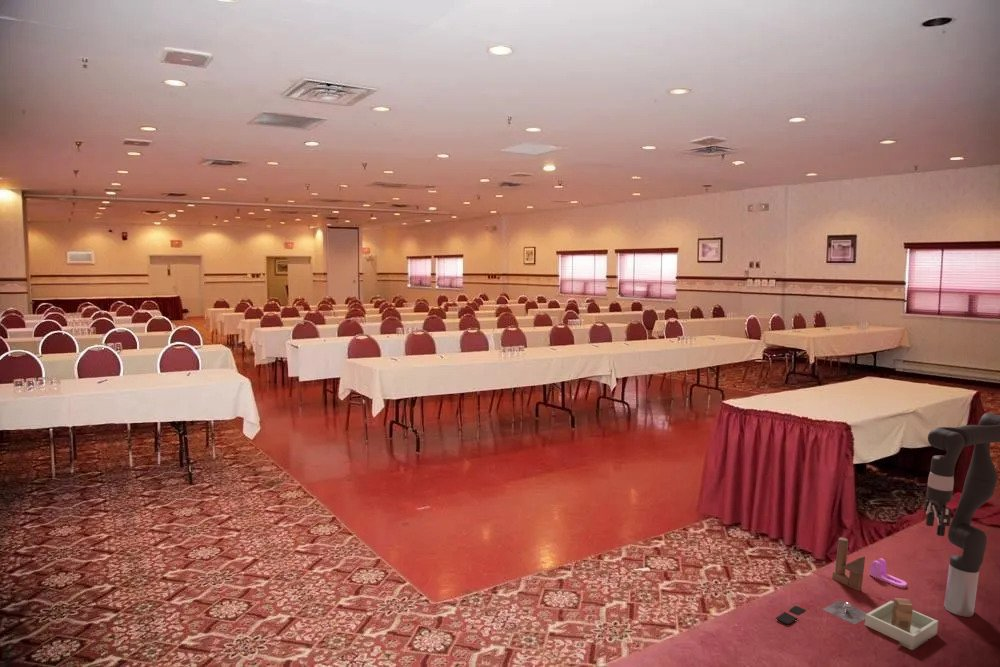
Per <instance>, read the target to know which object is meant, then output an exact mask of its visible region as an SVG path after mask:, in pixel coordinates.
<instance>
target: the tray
mask: <svg viewBox="0 0 1000 667" xmlns="http://www.w3.org/2000/svg"><path fill="white" fill-rule="evenodd" d="M893 605H894V600H889V601H888V602H886V603H883V604H882V605H881V606H878V607H876V608H875V609H872V610H871V611H869V612H866V613H867V614H866V617H865V619H864V626H866V627H867V628H870V629H872V630H875V631H877V632H879V633H881V634H882V635H885V636H887V637H890V638H891V639H894V640H896V641H897V642H898V643H897V644H898V645H901V646H902V647H904V648H907V649H909V650H911V651H914V650H915V649H916V648H918V647H920V646H921V645H922V644H924V643H926V642H928V641H929V640H930V639H932V638H933V637H935V636H937V634H938V627H939V620H938V619H935V618H932V617H931V616H928V615H926V614H923V613H921V612H918V611H916V610H914V609H913V610H912V618H911V626H910V632H906V631H904V630H902V629H900V628H898V627H896V626H893V625H892V624H891V622H892V613H893ZM928 639H929V640H928Z"/></svg>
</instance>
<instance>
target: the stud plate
mask: <svg viewBox="0 0 1000 667" xmlns="http://www.w3.org/2000/svg"><path fill="white" fill-rule="evenodd" d="M822 610H823V611H825V612H827V613H830V614H832V615H833V616H836V617H837V618H839V619H842V620H843V621H845V622H848V623H850V624H851V625H857V624H859V623H860V622H862V621H865V617H866V614H867V613H868V612H866V611H865V610H862V609H859V608H858V607H855V606H853V605H852V604H851V603H850V602H847V601H846V602H845V601H842V600H838V601H836V602H834V603H832V604H830V605H828V606H826V607H824V608H822Z"/></svg>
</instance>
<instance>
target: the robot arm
mask: <svg viewBox="0 0 1000 667" xmlns="http://www.w3.org/2000/svg"><path fill="white" fill-rule="evenodd" d="M927 441H928V443H929V445H930V446H931V447H933V448H935V449H939V450H942V451H945V452H946V454H944V455H939V454H938V455H933V456H932V457H931V461H930V470H929V474H928V479H927V486H926V494H925V500H924V501H925V502H924V506H923V507H924V508H923V511H924V512H925V514H926V521H925V525H926V526H927V527H933V526H934V524H935V523H934V522H935V519H936V520H937V521H936V522H937V527H936V535H937V536H938V537H944V536H945V533H946V527H948V531H947V539H948V541H949V542H950V543H951V544H952V545H954V546H956V547H958V548H960V549H962V554H954V555H951V556H950V559H949V565H948V572H947V582H946V589H945V595H944V604H943V608H944V607H945V608H944V609H945V610H946V611H948V612H949V613H950V614H951V613H952V614H953V615H956V616H959V617H967V618H968V617H969V618H970V617H972V616H973V615H974V614H975V605H976V604H975V603H976V597H977V592H978V590H977V589H978V583H979V574H980V568H981V567H982V565H983V562H984V559H985V558H984V557H985V553H986V548H987V540H988V539H987V535H986V533H985V532H984V531H983V530H981V529H980V528H977V527H975V526H973V525H971V523H972V520H973V517H974V514H976V511H977V510H978V509H980V508H981V507H982V506H983V505H985V503H987V502H989V500H991V499H992V497H993V496H994V492H995V489H996V486H997V483H998V473H997V469H996V467H995V464H994V461H993V459H992V457H991V452H990V450H991V443H1000V414H996V413H995V414H994V413H992V412H985V413H984V414H982V416H981V417H980V419H979V421H978V424H965V425H961V426H960V425H959V426H956V427H953V426H952V427H951V426H947V427H946V426H944V427H943V426H939V427H935V428H933V429H932V430H931V431H930V432H928V435H927ZM970 446H974V447H973V452H972V455H971V459H970V463H969V466H968V469H967V472H966V476H965V480H964V483H963V488H962V492H961V495H960V498H959V502H958V505H957V507H956V510H955V512H954V514H953V517H952V509H951V508H947V504H948V503H950V502H952V500H953V491H954V485H955V469H956V464H957V462H958V460H959V457H960V455H961V453H962V451H963V449H964V447H970ZM951 517H952V520H951Z"/></svg>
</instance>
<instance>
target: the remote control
mask: <svg viewBox="0 0 1000 667" xmlns="http://www.w3.org/2000/svg"><path fill="white" fill-rule="evenodd" d="M806 612H807V610H806V609H804V608H803V607H800V606H798V605H794V606H793V607H791V608H790V609H789V610H788V613H787V612H786V611H784V612H783V613H781V614H779V615H777V616H776V617H775V620H776V619H777V620H778V621H780V622H781V623H783V624H782V625H784V624H785V625H784V626H786V625H789V626H791V625H793V624H794V623H795V622H796V621H795V620H797V619H798V618H797V617H795V616H793V615H796V616H800V615H802V614H804V613H806ZM790 613H791V614H793V615H791V614H790ZM794 621H795V622H794ZM797 621H798V620H797ZM793 622H794V623H793ZM781 623H780V624H781ZM790 624H791V625H790Z"/></svg>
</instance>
